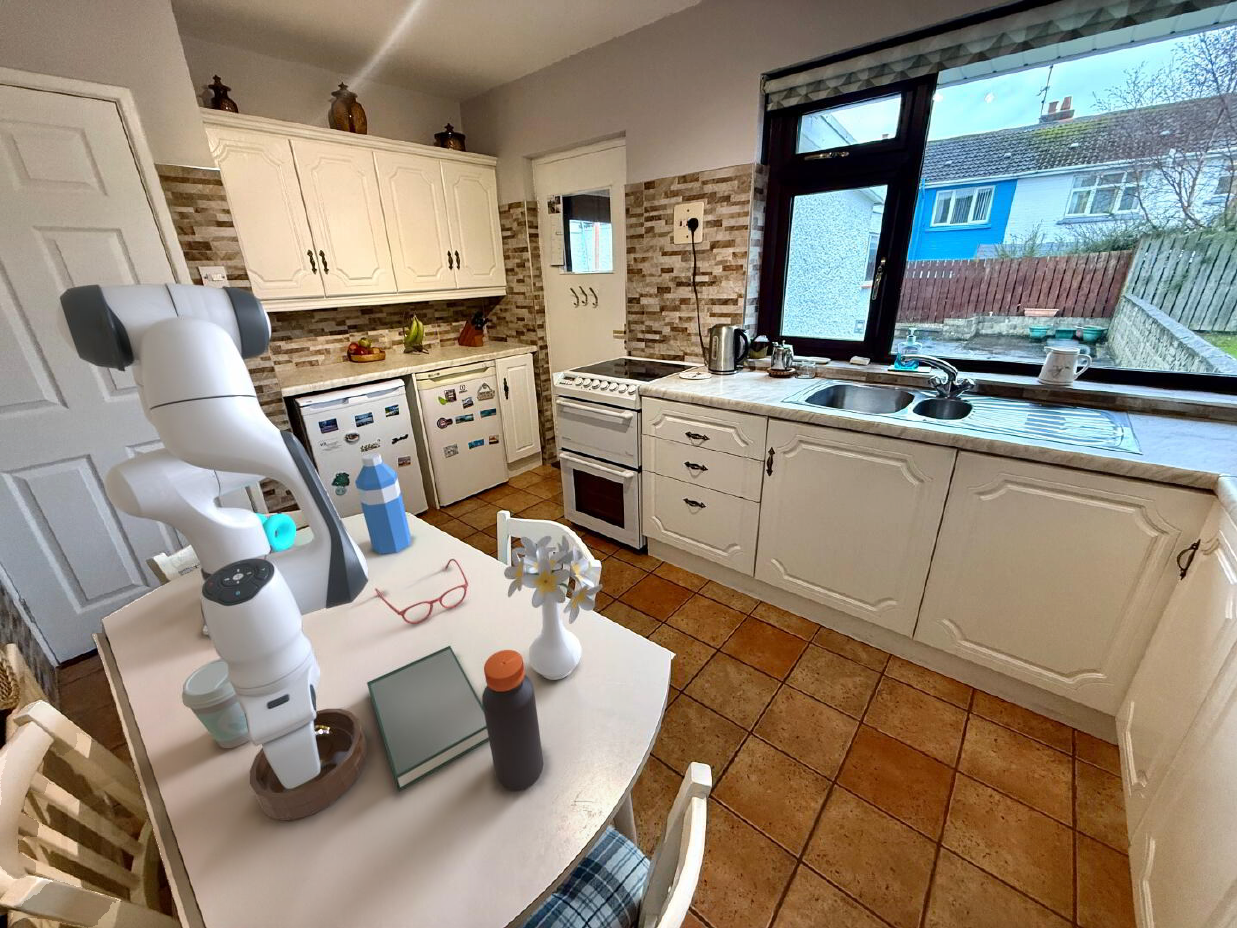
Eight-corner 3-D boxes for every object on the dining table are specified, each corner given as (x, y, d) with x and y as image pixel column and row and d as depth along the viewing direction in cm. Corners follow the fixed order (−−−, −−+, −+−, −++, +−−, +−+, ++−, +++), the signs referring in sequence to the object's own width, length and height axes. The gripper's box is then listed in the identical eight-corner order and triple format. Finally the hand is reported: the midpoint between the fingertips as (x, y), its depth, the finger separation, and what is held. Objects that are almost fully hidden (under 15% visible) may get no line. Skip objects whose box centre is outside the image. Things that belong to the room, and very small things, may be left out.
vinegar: (517, 739, 74) (501, 637, 66) (553, 759, 71) (541, 655, 63) (485, 777, 69) (464, 671, 61) (522, 801, 65) (505, 693, 58)
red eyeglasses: (396, 636, 95) (390, 616, 93) (374, 596, 107) (369, 577, 105) (479, 598, 105) (475, 579, 103) (451, 566, 117) (447, 548, 115)
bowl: (260, 763, 71) (249, 740, 69) (359, 716, 78) (352, 693, 77) (262, 845, 61) (249, 820, 59) (376, 782, 68) (368, 758, 66)
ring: (287, 793, 67) (269, 753, 64) (286, 774, 69) (269, 735, 66) (344, 765, 70) (329, 726, 67) (341, 748, 73) (327, 710, 70)
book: (370, 695, 82) (366, 682, 81) (452, 657, 90) (450, 645, 88) (398, 791, 67) (394, 777, 66) (494, 736, 74) (492, 723, 73)
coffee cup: (222, 767, 71) (191, 708, 66) (197, 740, 75) (167, 682, 71) (284, 723, 78) (260, 666, 73) (258, 700, 82) (234, 645, 77)
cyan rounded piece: (268, 538, 131) (257, 506, 127) (303, 540, 130) (292, 507, 126) (238, 559, 122) (224, 525, 118) (275, 561, 121) (262, 526, 117)
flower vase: (576, 718, 77) (566, 590, 67) (498, 667, 87) (479, 549, 77) (623, 666, 87) (620, 547, 77) (548, 625, 97) (536, 516, 87)
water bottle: (365, 553, 123) (340, 462, 113) (387, 533, 132) (365, 448, 122) (398, 555, 122) (376, 464, 112) (418, 536, 130) (399, 449, 120)
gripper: (248, 641, 69) (278, 711, 74) (249, 749, 53) (286, 827, 59) (300, 623, 72) (324, 691, 78) (314, 719, 57) (344, 795, 62)
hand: (308, 750), depth 68 cm, fingers closed on ring, 2 cm apart
